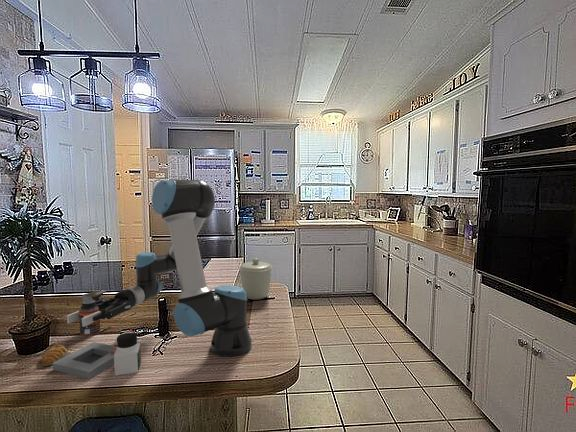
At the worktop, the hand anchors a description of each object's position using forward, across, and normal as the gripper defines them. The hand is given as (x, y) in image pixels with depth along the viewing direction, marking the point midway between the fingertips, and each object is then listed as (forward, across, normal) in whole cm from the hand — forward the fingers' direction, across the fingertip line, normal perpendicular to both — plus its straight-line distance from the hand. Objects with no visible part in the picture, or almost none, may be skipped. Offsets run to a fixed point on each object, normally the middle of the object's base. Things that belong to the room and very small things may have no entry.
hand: (75, 321), depth 114 cm
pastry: (-2, +14, -17) cm, 23 cm away
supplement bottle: (-5, 0, -7) cm, 8 cm away
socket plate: (-5, 0, -17) cm, 18 cm away
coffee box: (-26, +20, -17) cm, 37 cm away
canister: (-86, -25, -17) cm, 91 cm away
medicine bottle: (-6, -15, -17) cm, 24 cm away
